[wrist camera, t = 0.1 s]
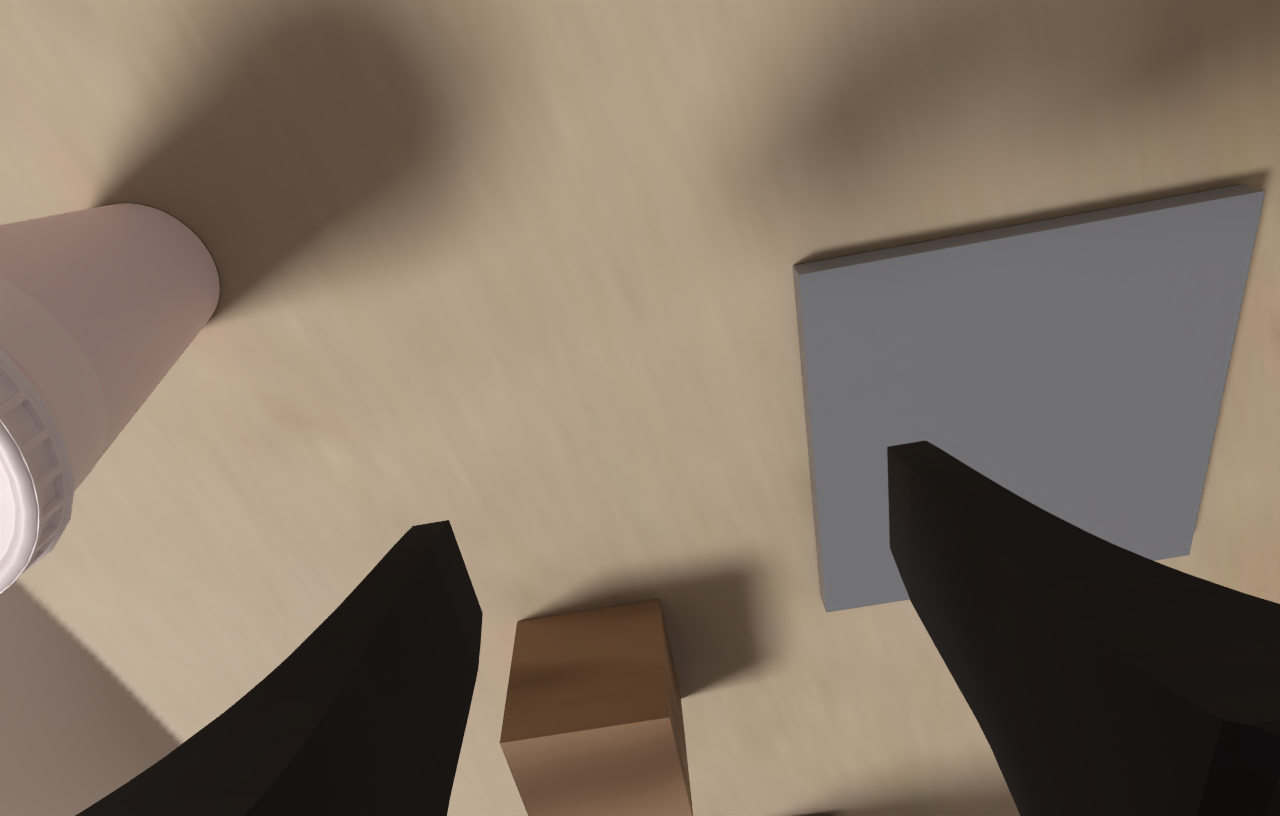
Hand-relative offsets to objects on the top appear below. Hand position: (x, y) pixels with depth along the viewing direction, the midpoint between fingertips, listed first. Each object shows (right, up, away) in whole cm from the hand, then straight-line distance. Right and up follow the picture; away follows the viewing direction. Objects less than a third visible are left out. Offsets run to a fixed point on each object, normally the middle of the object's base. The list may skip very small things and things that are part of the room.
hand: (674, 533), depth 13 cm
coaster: (+11, +2, +11) cm, 15 cm away
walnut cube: (-2, -7, +15) cm, 17 cm away
